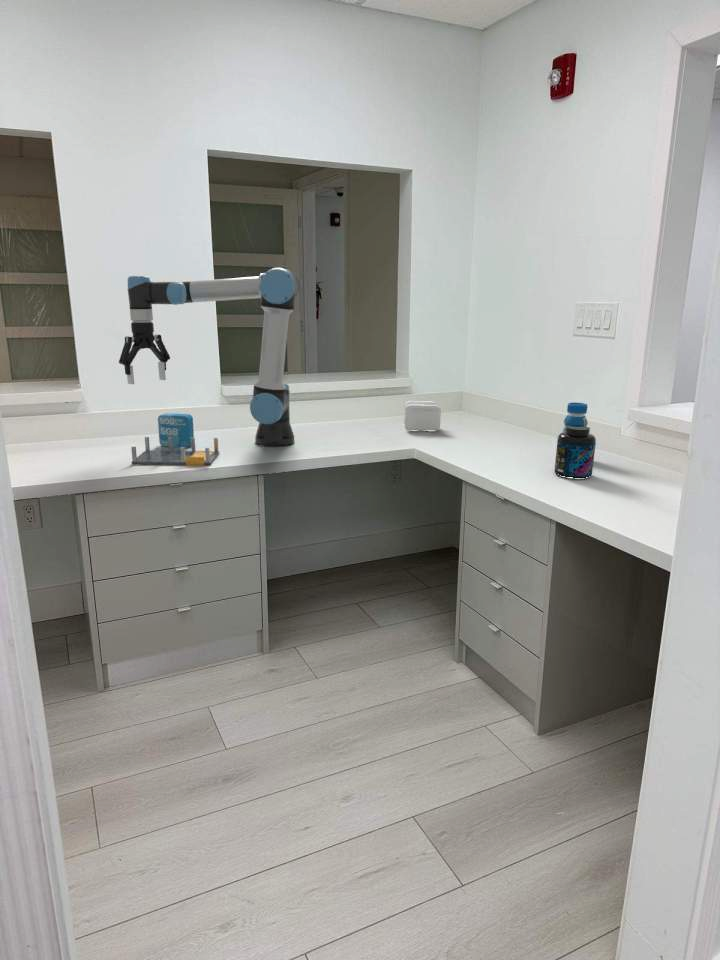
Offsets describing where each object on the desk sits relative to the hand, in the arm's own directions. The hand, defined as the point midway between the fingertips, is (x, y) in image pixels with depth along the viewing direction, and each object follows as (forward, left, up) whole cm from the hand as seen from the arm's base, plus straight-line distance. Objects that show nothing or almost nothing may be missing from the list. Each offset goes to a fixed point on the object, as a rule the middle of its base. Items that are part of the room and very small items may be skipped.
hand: (147, 381), depth 242 cm
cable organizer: (-104, -39, -25) cm, 114 cm away
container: (-147, +31, -25) cm, 153 cm away
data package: (-8, -4, -25) cm, 26 cm away
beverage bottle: (-154, +8, -25) cm, 157 cm away
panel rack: (-13, +16, -24) cm, 32 cm away
